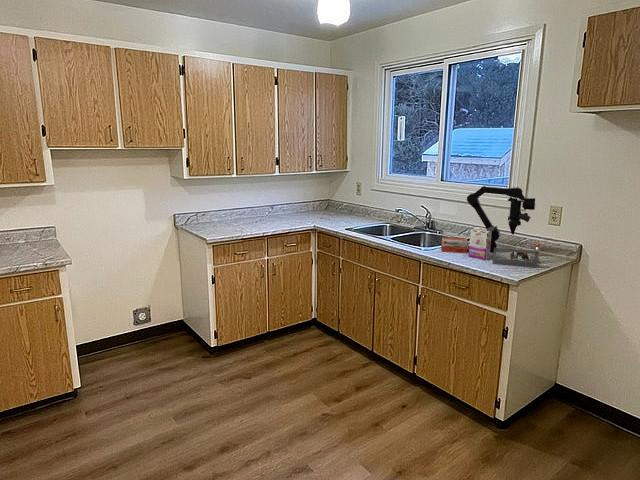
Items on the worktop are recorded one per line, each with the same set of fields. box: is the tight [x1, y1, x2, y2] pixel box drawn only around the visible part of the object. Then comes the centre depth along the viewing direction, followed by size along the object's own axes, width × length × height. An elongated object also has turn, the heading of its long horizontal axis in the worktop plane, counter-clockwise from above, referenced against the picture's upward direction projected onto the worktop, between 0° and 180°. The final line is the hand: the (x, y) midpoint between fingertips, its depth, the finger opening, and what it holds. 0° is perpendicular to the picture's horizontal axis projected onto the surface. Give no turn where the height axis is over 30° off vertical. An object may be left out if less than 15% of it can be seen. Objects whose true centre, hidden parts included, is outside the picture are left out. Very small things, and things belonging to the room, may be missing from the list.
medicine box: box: [440, 236, 469, 254], centre depth 263 cm, size 15×8×8 cm, turn 76°
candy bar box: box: [468, 228, 492, 261], centre depth 246 cm, size 11×5×16 cm, turn 40°
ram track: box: [529, 255, 541, 264], centre depth 243 cm, size 4×14×1 cm, turn 159°
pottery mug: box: [509, 248, 530, 261], centre depth 240 cm, size 12×10×8 cm
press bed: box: [492, 247, 540, 269], centre depth 233 cm, size 22×6×9 cm, turn 69°
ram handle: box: [532, 242, 541, 261], centre depth 237 cm, size 3×3×10 cm
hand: (512, 234), depth 255 cm, fingers closed
